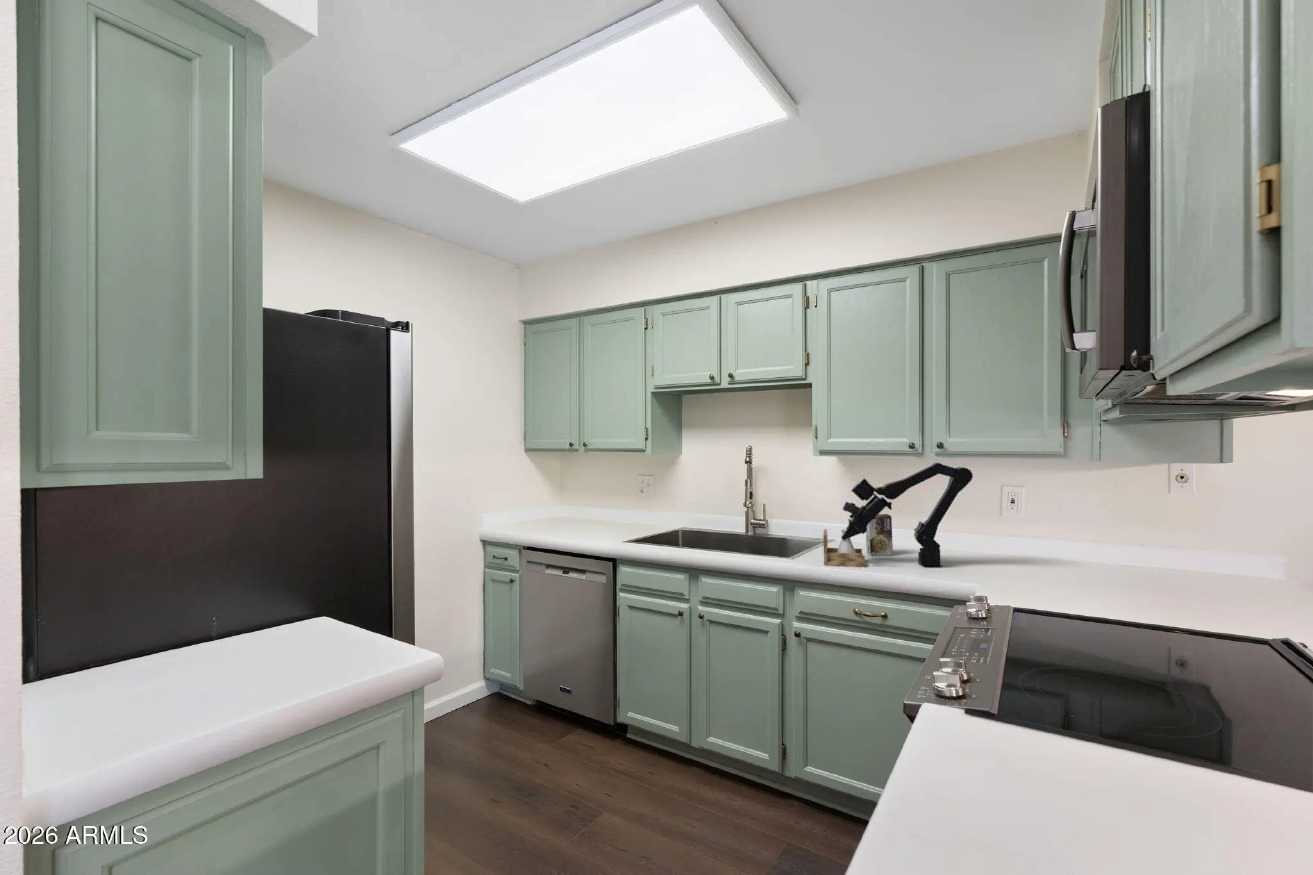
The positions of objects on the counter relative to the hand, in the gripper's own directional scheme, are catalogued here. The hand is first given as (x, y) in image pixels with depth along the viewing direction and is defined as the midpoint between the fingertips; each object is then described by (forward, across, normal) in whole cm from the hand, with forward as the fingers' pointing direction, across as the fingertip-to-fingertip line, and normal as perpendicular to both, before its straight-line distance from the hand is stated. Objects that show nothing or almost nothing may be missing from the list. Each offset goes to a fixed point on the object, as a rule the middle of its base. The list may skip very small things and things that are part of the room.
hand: (842, 538), depth 229 cm
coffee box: (-3, -19, +17) cm, 26 cm away
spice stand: (+6, 0, +7) cm, 9 cm away
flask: (+4, 0, +6) cm, 7 cm away
